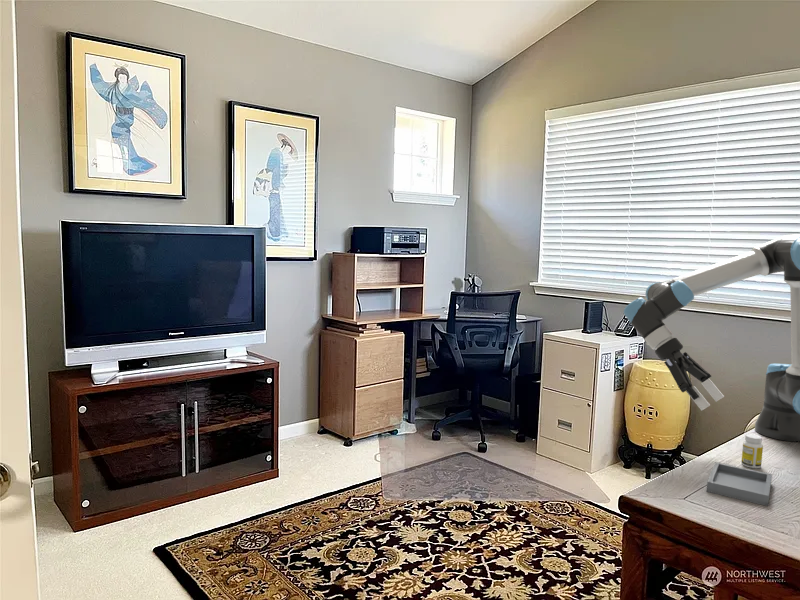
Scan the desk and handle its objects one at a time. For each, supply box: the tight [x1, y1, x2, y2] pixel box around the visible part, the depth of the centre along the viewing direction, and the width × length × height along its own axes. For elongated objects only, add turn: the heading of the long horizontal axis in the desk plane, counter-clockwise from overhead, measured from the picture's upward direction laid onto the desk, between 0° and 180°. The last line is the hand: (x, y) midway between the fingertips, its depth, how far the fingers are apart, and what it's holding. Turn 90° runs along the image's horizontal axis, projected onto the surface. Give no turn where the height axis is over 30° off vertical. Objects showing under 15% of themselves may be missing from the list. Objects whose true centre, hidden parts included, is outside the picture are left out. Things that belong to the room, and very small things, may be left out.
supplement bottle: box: [740, 433, 764, 469], centre depth 165 cm, size 5×5×8 cm
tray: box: [706, 461, 773, 507], centre depth 150 cm, size 16×13×2 cm
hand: (713, 403), depth 171 cm, fingers open, 13 cm apart
